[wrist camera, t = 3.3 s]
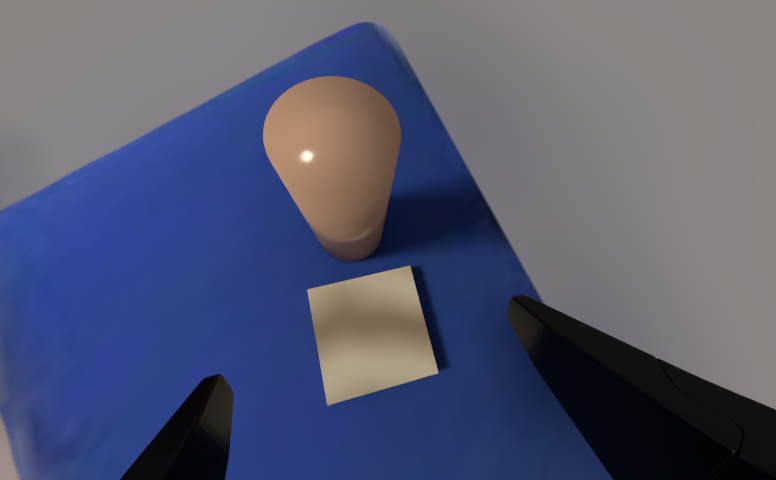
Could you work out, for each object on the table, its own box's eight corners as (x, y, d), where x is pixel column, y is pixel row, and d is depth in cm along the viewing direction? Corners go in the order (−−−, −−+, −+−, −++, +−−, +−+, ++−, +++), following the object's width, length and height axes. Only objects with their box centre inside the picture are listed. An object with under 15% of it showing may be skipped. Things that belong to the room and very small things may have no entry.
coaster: (435, 370, 21) (438, 373, 20) (328, 402, 20) (327, 405, 19) (408, 267, 23) (410, 265, 22) (309, 290, 22) (307, 289, 21)
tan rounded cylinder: (394, 225, 24) (426, 123, 11) (356, 275, 22) (344, 221, 10) (345, 190, 24) (324, 55, 12) (305, 236, 23) (233, 139, 10)
